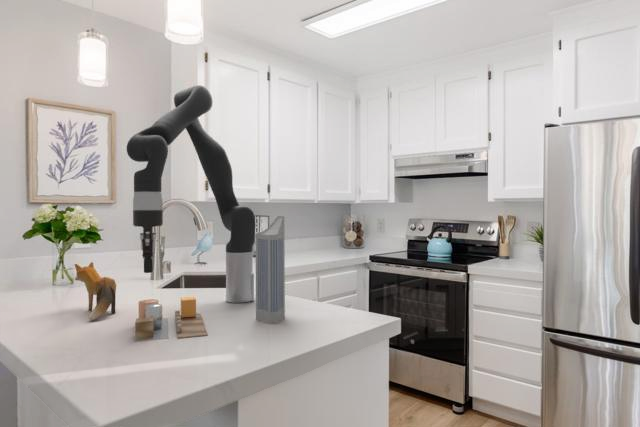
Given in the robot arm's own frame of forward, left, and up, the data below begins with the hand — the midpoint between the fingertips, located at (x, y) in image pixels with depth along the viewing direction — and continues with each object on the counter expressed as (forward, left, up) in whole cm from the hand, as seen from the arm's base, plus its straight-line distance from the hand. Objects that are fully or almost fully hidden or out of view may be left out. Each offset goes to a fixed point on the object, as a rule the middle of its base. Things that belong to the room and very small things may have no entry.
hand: (148, 272), depth 119 cm
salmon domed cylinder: (0, +1, -14) cm, 14 cm away
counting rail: (-11, +7, -15) cm, 20 cm away
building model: (-33, +4, -15) cm, 37 cm away
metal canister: (-2, +7, -14) cm, 16 cm away
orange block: (-11, -2, -13) cm, 17 cm away
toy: (+16, -21, -15) cm, 31 cm away
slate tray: (-1, +7, -15) cm, 17 cm away
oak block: (0, +13, -14) cm, 19 cm away
